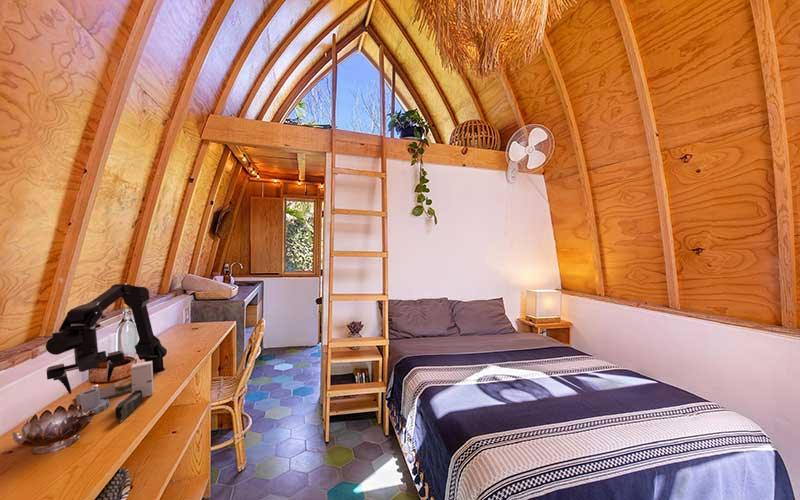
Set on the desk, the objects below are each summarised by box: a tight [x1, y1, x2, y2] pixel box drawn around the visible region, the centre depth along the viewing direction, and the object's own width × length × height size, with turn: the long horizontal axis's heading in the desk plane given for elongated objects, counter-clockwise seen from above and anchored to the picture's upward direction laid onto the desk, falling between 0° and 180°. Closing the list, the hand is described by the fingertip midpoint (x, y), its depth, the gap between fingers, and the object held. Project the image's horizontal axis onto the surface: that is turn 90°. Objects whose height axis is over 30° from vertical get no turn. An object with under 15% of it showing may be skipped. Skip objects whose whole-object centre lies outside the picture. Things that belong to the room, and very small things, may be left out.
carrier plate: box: [75, 378, 132, 407], centre depth 121 cm, size 18×12×4 cm, turn 139°
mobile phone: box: [114, 390, 144, 424], centre depth 106 cm, size 5×3×15 cm
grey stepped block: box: [79, 388, 111, 414], centre depth 108 cm, size 9×9×6 cm
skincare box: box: [130, 361, 155, 398], centre depth 117 cm, size 6×4×12 cm
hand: (89, 388), depth 108 cm, fingers open, 9 cm apart
